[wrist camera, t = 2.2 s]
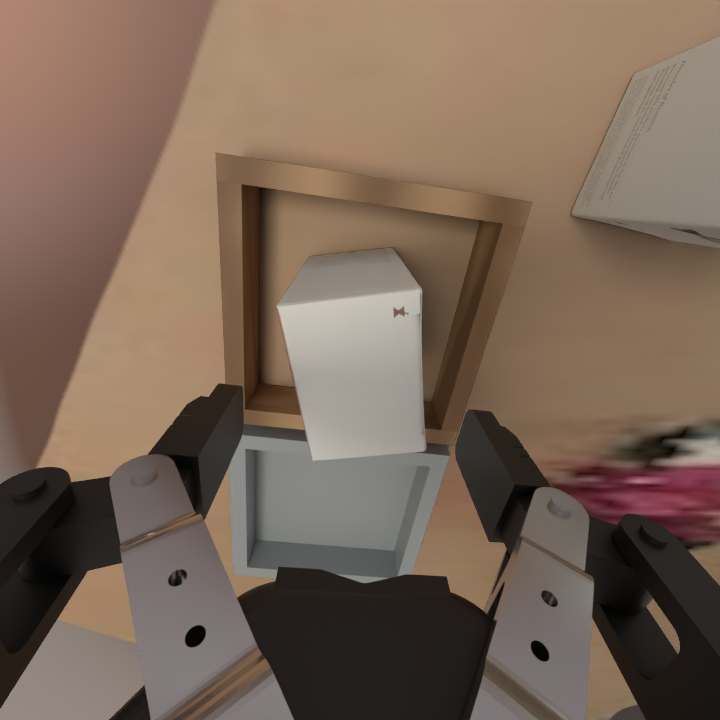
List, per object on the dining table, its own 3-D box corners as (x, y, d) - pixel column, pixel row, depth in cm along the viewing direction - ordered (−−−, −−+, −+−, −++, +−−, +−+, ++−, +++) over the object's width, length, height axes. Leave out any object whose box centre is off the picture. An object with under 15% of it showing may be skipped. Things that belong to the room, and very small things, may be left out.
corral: (505, 201, 20) (532, 202, 17) (442, 416, 27) (453, 445, 24) (238, 159, 19) (215, 152, 16) (242, 394, 26) (227, 422, 23)
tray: (439, 426, 28) (450, 456, 25) (402, 552, 35) (407, 587, 32) (242, 405, 27) (227, 433, 24) (245, 539, 34) (233, 574, 30)
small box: (308, 254, 22) (270, 299, 12) (394, 245, 22) (424, 283, 12) (326, 364, 25) (308, 465, 16) (400, 357, 25) (427, 455, 16)
